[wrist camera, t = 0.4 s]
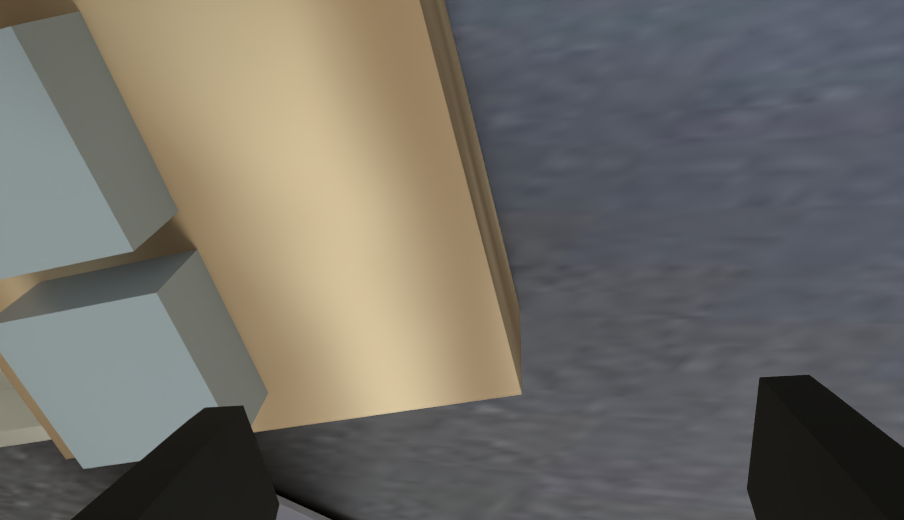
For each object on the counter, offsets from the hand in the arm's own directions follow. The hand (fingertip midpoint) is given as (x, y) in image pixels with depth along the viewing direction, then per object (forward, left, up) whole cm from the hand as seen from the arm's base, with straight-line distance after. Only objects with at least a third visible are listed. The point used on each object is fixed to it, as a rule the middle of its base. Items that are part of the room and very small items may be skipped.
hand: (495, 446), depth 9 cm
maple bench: (-4, +7, -10) cm, 13 cm away
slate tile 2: (-7, +6, -6) cm, 11 cm away
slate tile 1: (-3, +10, -6) cm, 12 cm away
